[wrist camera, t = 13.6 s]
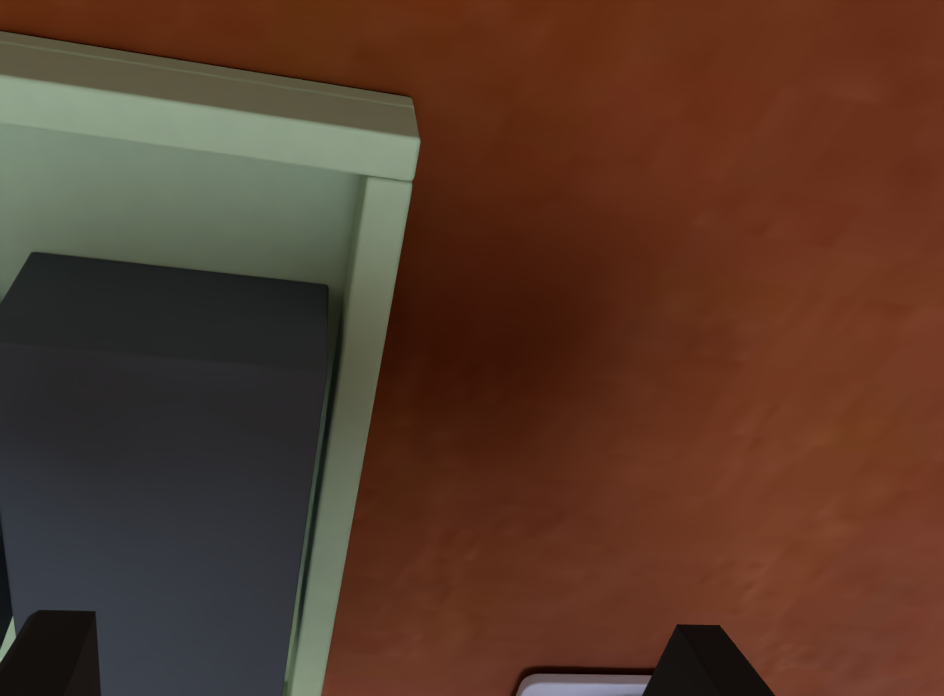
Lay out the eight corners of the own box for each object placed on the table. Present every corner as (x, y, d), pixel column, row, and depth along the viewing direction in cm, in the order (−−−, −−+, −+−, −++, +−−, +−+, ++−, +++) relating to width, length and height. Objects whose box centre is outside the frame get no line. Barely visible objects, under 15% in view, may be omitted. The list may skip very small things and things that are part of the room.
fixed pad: (286, 611, 23) (280, 715, 20) (59, 604, 22) (24, 714, 19) (328, 283, 17) (327, 372, 15) (30, 250, 16) (-25, 341, 14)
